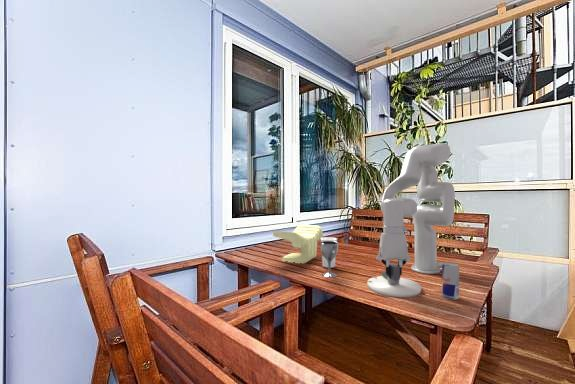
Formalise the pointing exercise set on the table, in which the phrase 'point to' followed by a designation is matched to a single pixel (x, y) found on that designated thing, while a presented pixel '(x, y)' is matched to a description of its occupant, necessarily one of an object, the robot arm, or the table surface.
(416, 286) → the tuner dial
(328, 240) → the cup
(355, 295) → the table surface
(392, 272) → the tuning knob
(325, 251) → the wine glass
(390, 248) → the robot arm
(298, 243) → the slatted curved stool
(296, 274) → the table surface
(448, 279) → the energy drink
